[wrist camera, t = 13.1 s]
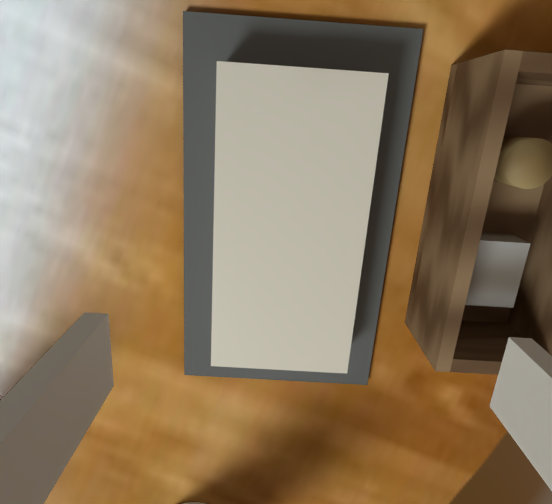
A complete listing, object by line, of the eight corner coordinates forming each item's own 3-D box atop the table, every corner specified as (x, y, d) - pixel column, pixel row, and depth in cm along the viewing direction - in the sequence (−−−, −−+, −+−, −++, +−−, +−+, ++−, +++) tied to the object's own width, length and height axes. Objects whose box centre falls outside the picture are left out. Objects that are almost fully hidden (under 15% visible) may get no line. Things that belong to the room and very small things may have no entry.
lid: (222, 67, 28) (216, 60, 25) (376, 78, 28) (388, 73, 25) (216, 344, 35) (210, 366, 32) (340, 351, 35) (347, 373, 32)
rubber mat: (184, 12, 28) (183, 11, 27) (421, 30, 28) (423, 28, 28) (185, 371, 36) (184, 374, 36) (366, 381, 37) (367, 384, 36)
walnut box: (451, 65, 29) (504, 49, 22) (578, 74, 29) (669, 61, 22) (404, 322, 35) (435, 371, 28) (509, 328, 35) (564, 378, 28)
